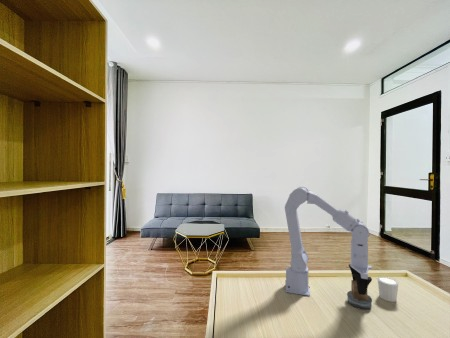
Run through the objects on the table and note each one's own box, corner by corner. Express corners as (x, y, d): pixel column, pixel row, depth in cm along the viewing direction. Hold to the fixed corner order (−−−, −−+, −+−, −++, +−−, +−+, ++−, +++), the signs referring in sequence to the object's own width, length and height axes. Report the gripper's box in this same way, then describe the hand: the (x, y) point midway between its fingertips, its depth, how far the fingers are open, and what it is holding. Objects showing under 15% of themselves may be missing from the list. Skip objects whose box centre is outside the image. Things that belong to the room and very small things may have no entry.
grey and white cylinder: (402, 303, 87) (402, 285, 87) (382, 301, 88) (382, 283, 88) (392, 294, 94) (392, 277, 94) (374, 292, 95) (374, 275, 95)
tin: (348, 308, 85) (348, 300, 85) (345, 296, 93) (345, 289, 93) (374, 313, 82) (374, 304, 82) (369, 300, 90) (369, 293, 90)
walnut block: (353, 298, 86) (353, 285, 86) (351, 292, 90) (351, 280, 90) (367, 300, 84) (367, 287, 84) (364, 294, 89) (364, 281, 89)
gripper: (377, 262, 79) (377, 301, 79) (365, 248, 93) (365, 281, 93) (354, 260, 81) (354, 297, 81) (346, 246, 95) (346, 278, 95)
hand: (359, 288), depth 87 cm, fingers open, 7 cm apart
